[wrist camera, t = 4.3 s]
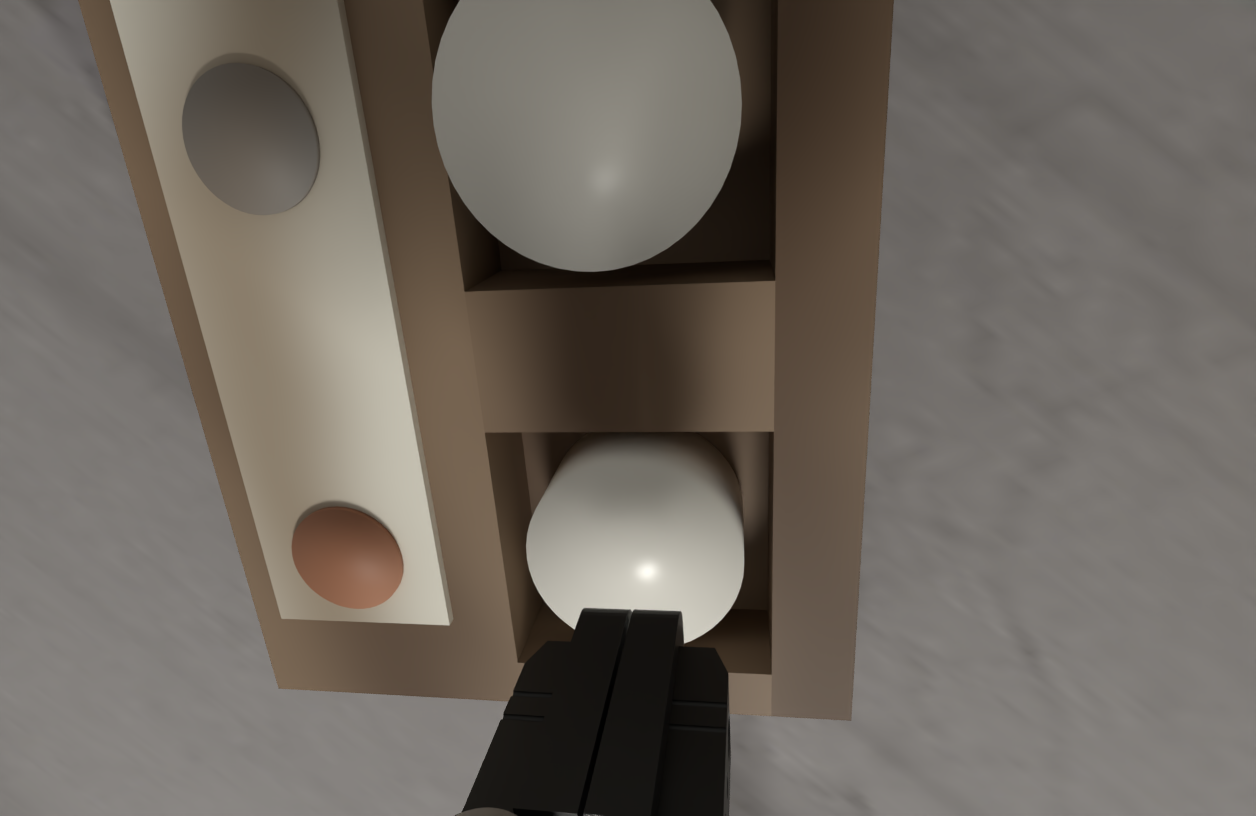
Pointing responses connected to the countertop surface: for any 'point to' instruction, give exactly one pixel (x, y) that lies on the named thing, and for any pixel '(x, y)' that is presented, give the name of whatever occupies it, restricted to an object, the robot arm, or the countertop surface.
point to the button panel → (498, 337)
